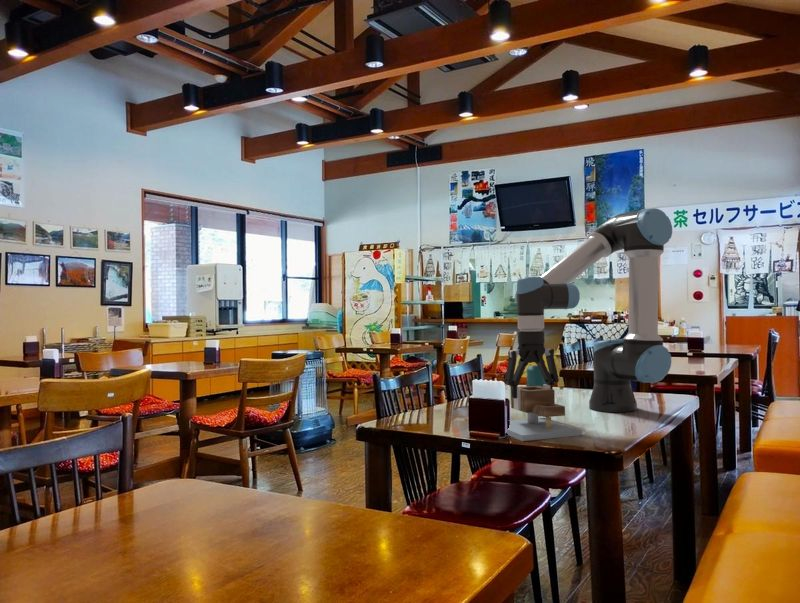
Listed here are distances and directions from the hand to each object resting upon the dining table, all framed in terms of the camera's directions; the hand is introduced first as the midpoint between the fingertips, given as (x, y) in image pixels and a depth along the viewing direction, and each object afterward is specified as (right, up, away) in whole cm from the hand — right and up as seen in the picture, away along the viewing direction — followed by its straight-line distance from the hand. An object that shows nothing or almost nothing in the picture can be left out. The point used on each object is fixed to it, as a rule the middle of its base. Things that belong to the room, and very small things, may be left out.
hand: (532, 408), depth 177 cm
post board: (0, -6, -4) cm, 7 cm away
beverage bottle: (+4, -6, +13) cm, 15 cm away
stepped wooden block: (+1, 0, -4) cm, 4 cm away
